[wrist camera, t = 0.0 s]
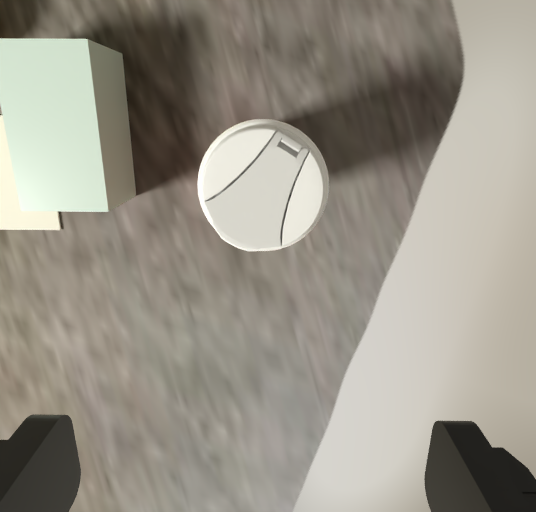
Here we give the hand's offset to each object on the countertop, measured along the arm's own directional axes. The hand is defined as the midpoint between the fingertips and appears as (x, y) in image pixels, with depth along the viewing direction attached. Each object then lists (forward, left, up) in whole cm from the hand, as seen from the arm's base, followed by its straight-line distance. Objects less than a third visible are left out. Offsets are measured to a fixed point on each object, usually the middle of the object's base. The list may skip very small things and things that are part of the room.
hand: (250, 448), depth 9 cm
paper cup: (-3, 0, -30) cm, 30 cm away
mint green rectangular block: (-6, -15, -29) cm, 34 cm away
